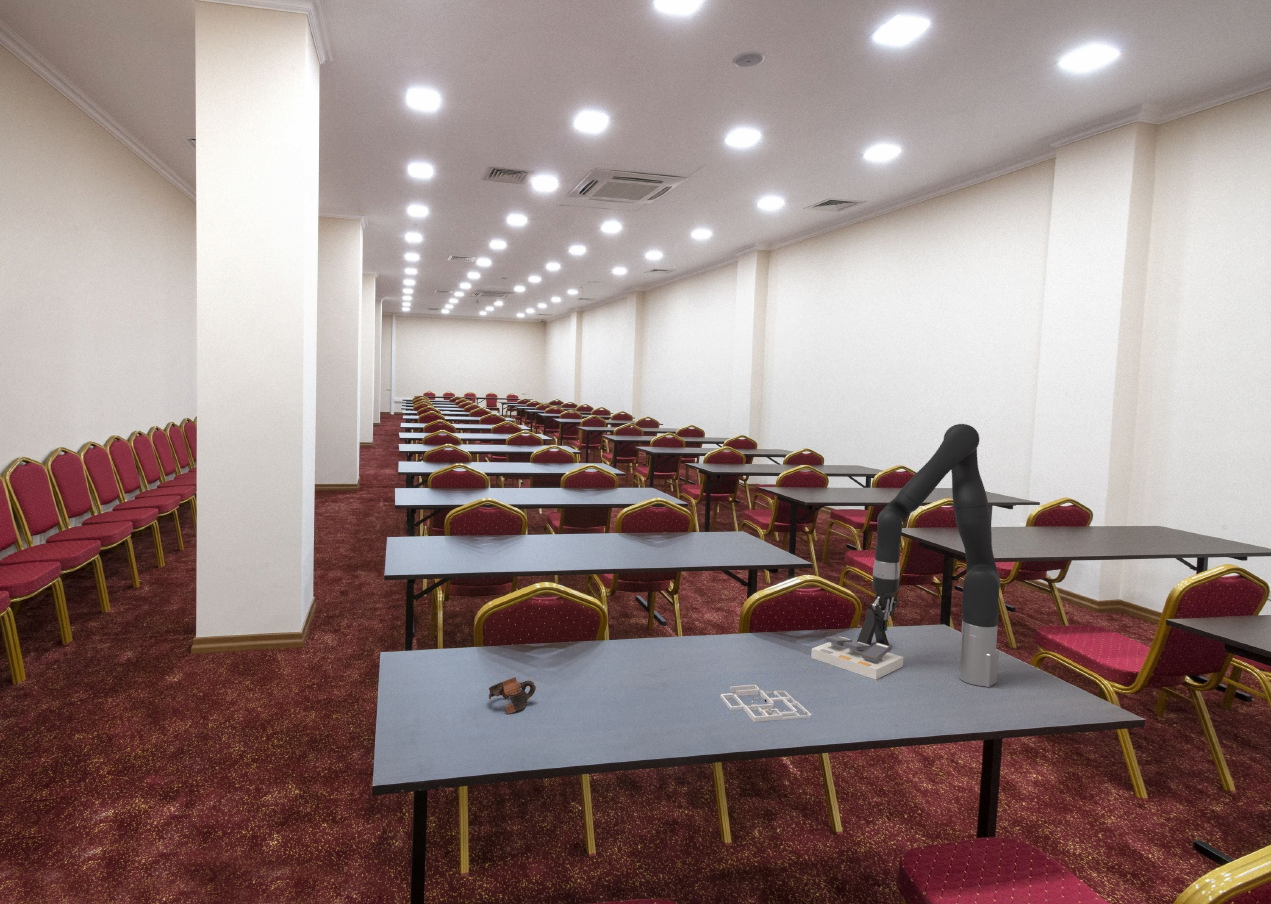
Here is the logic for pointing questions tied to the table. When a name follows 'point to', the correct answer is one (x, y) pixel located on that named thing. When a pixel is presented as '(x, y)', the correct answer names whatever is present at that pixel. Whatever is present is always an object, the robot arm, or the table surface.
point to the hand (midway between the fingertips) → (882, 630)
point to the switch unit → (856, 660)
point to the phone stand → (871, 631)
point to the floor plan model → (766, 715)
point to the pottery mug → (513, 693)
